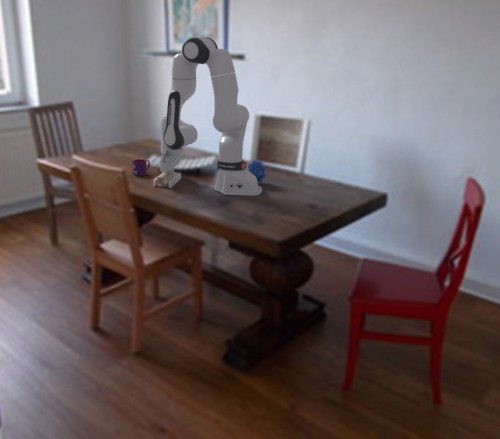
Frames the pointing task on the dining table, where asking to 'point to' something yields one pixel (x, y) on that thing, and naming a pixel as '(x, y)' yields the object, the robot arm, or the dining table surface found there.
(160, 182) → the block
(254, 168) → the grapes
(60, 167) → the dining table surface
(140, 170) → the mug
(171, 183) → the white u-shaped frame
